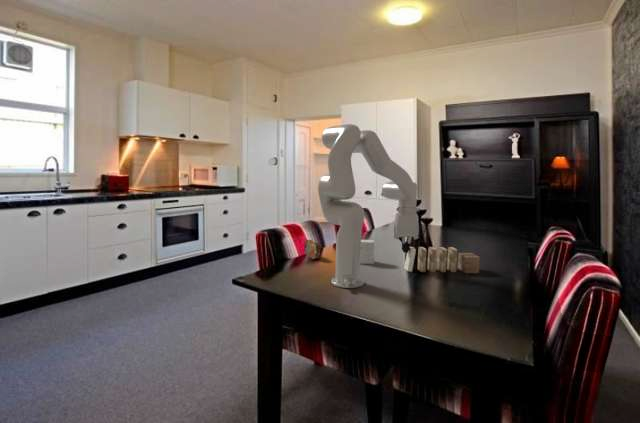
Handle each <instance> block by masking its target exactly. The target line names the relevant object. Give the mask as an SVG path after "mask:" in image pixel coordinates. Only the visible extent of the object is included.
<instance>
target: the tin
mask: <svg viewBox="0 0 640 423" xmlns="http://www.w3.org/2000/svg"><path fill="white" fill-rule="evenodd" d="M303 246H304V248H303V249H304V254H305V255H307V256H306V257H308V256H309V257H308V258H310V257H311V258H310V259H312V260H317V259H319V258H320V257H321V249H322V248H321V244H320V243H319V242H318V241H315V240H313V239H306V240H305V242H304V245H303Z"/></svg>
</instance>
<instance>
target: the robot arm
mask: <svg viewBox="0 0 640 423" xmlns="http://www.w3.org/2000/svg"><path fill="white" fill-rule="evenodd" d="M321 142H322V143H323V146H324V147H326V148H327V149H329V150H330V151H329V154H328V155H327V156H328V157H327V167H328V168H327V169H328V173H327V174H324V175H322V177H320V179H319V181H318V185H317V192H318V197H319V201H320V206H321V211H322V213H323V214H322V215H323V216H324V219H325V220H326V222H327V223H329V224H332V225H337V226H339V229H338V231H337V233H336V237H335V274H334V275H335V276H334V277H332V278H331V281H330V282H331V284H332V286H335V287H338V288H344V289H355V288H359V287H362V286H364V283H365V281H364V279H362V278H361V264H360V259H361V240H362V230H363V224H364V222H365V217H366V216H365V211H364V208H363V207H362V206H361V205H360V203H357V202H353V201H347V200H351V199H353V197H355V194H356V183H355V182H356V181H355V178H354V177H355V176H354V172H353V166H352V154H357V153H358V154H361V155H362V156H363V158H364V159H365V161H366V163H367V164H368V167H369V168H370V169H371V171H372V172H373V173H375V174H376V175H379V176H381V177H384V178H385V179H388V180H390V181H389V182H386V183H384V184H383V186H382V187H381V193H382V195H383V197H384V198H386V199H387V200H393V201H394V200H395V201H397V200H398V204H397V205H398V210H397V213H395V217H394V226H393V239H395V240H398V241H400V242H401V250H402V252H403V253H404V254H405V253H406V254H407V253H408V250H409V248H410V247H411V246H410V244H411V243H412V241H415V240H418V239H419V233H420V232H419V231H420V230H419V228H420V227H419V226H420V224H419V216H418V213H417V212H420V207H417V200H418V196H417V195H418V185H417V183H416V182H413V180H412V178H411V176H410V174H409V173H408V171H406V169H404V168H403V167H402V166H401V165H399V164H398V163H397V162H395V161H394V160H392V159H391V157H390V156H389V155H388V152H387V150H386V149H385V147H384V145H383V143H382V141H381V139H380V138H379V136H378V135H377V133H376V132H375V131H373V130H370V129H365V130H360V128H359V126H357V125H356V124H352V123H351V124H349V123H347V124H340V125H334V126H328V127H326V128H325V130H323V132H322V133H321ZM343 200H344V201H343ZM345 200H346V201H345Z"/></svg>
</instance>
